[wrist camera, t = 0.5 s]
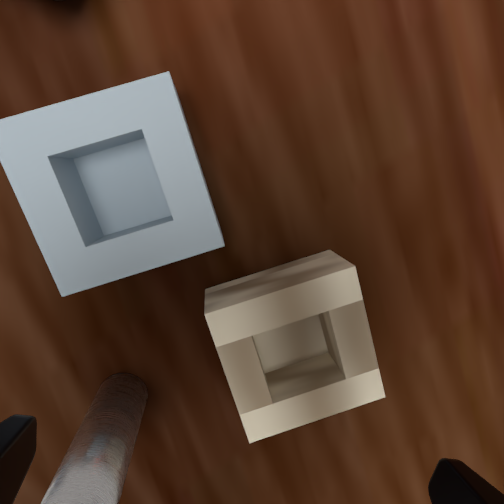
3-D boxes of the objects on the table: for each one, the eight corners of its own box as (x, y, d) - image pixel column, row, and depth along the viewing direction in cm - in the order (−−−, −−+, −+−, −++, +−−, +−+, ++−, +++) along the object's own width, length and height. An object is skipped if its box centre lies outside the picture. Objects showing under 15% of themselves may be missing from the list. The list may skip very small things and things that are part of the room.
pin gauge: (109, 421, 23) (35, 604, 13) (90, 381, 22) (-1, 544, 13) (154, 406, 23) (114, 576, 13) (137, 366, 22) (83, 515, 13)
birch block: (242, 398, 24) (249, 443, 20) (205, 289, 22) (204, 314, 18) (357, 360, 24) (385, 396, 20) (329, 249, 22) (355, 265, 18)
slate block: (89, 273, 21) (61, 297, 17) (29, 134, 19) (-17, 124, 15) (221, 232, 21) (224, 246, 17) (177, 91, 19) (169, 71, 15)
